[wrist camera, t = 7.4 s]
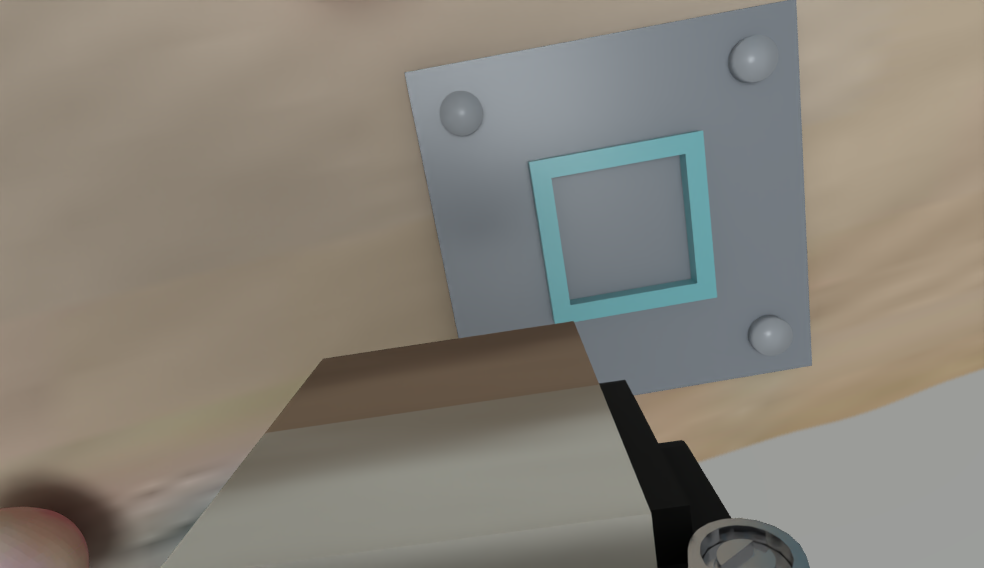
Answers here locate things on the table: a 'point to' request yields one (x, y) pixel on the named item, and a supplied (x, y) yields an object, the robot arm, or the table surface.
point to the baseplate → (630, 195)
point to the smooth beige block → (436, 466)
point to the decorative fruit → (40, 540)
